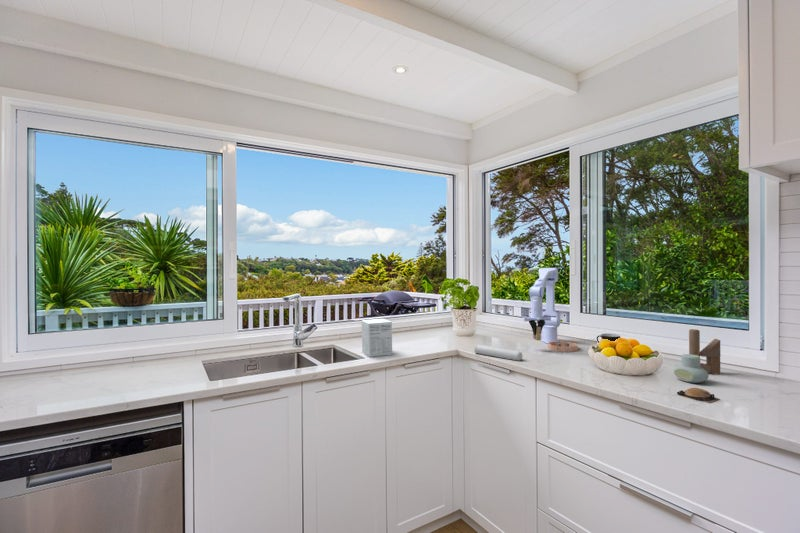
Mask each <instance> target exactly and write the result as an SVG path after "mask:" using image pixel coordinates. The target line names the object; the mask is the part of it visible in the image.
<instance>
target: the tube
mask: <svg viewBox="0 0 800 533" xmlns="http://www.w3.org/2000/svg"><path fill="white" fill-rule="evenodd" d="M474 353H475V354H476V355H483V356H489V357H495V358H500V359H507V360H512V361H515V362H516V361H517V362H519V361H522V359H523V358H524V357H523V353H522V352H521V351H520V350H515V349H509V348H502V347H495V346H490V345H483V344H479V343H476V344H475V346H474Z"/></svg>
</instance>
